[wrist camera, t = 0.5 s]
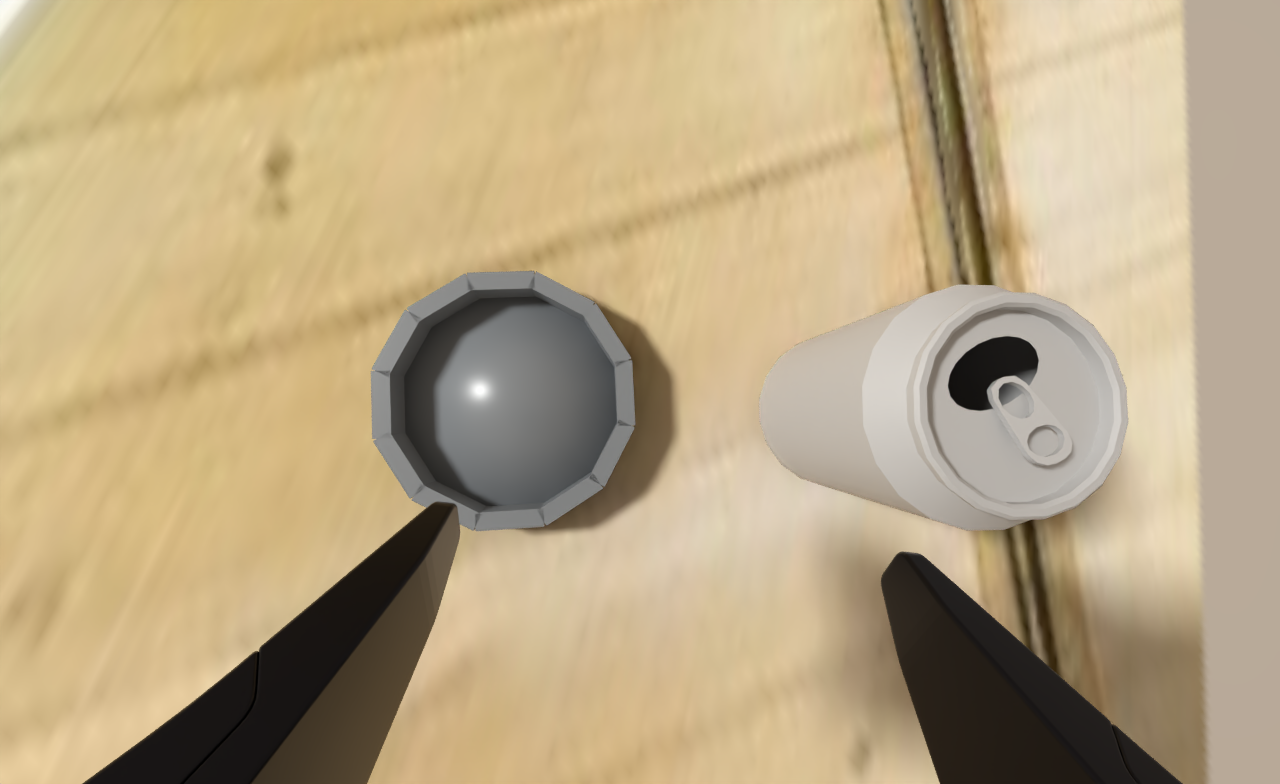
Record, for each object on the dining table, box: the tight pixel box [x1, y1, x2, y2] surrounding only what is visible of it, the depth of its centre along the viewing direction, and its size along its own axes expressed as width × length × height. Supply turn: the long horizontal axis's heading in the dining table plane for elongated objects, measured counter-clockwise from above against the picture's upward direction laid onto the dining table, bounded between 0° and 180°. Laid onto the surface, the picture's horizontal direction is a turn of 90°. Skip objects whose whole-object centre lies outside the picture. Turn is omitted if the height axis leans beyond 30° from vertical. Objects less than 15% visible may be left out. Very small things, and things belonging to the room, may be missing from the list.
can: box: [759, 285, 1128, 530], centre depth 19 cm, size 8×8×12 cm
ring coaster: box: [371, 271, 635, 531], centre depth 22 cm, size 12×12×2 cm
